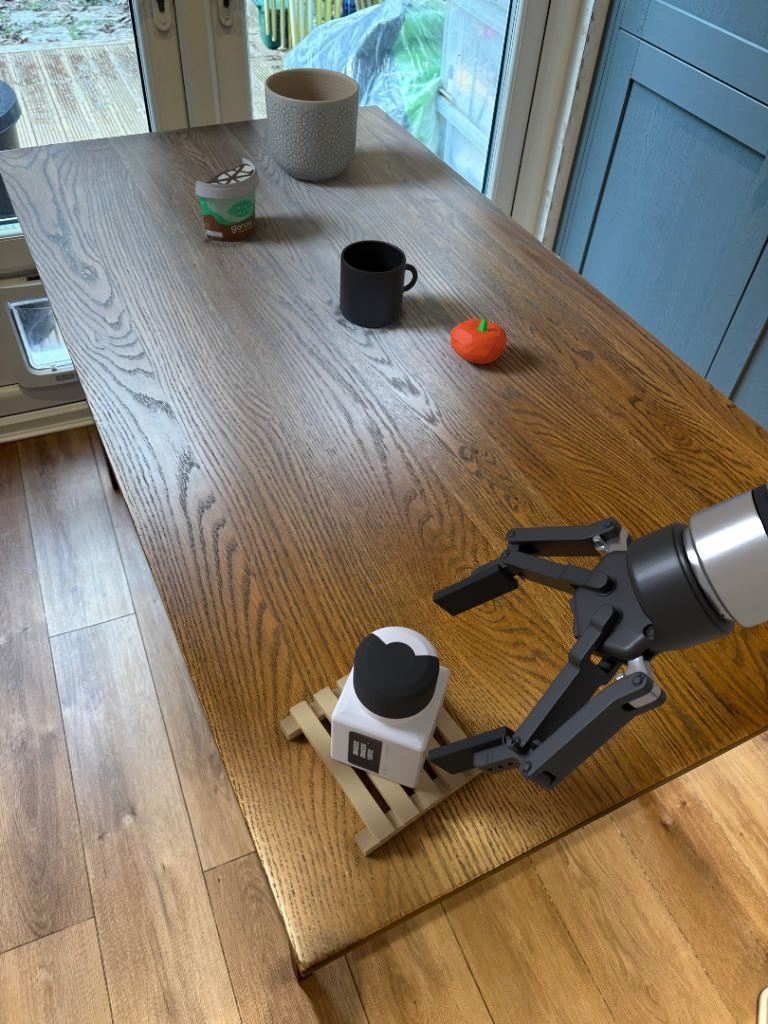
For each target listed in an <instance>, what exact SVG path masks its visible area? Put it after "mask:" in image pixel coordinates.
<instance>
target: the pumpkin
mask: <svg viewBox="0 0 768 1024" xmlns="http://www.w3.org/2000/svg"><path fill="white" fill-rule="evenodd" d="M449 338H450V340H449V341H450V345H451V349H453V351H454V352H455V353H456V354H457V355H458V356H459V357H460V358H461V359H463V360H465V361H466V362H470V363H473V364H477V365H478V364H479V365H484V364H485V365H487V364H490V363H493V362H495V361H496V360H497V359H499V357H501V355H502V354H503V352H504V351H505V349H506V346H507V343H508V336H507V333H506V331H505V329H503V327H502V326H501V325H499V324H498V323H495V322H493V321H490V320H489V319H486V318H481V319H480V318H471V319H468V320H465V321H463V322H460V323H459V324H458V325H457V326H455V327H453V328H452V330H451V333H450V335H449Z"/></svg>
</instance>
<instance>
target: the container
mask: <svg viewBox="0 0 768 1024" xmlns="http://www.w3.org/2000/svg"><path fill="white" fill-rule="evenodd" d="M349 673H350V675H349V677H348V679H347V682H346V684H345V686H344V689H343V691H342V693H341V695H340V698H339V700H338V702H337V705H336V707H335V709H334V711H333V714H332V724H331V723H330V725H331V727H330V728H331V731H330V732H331V733H330V737H331V757H332V758H333V759H334V760H337V761H340V762H343V763H345V764H348V765H350V766H351V767H352V768H353V767H354V768H355V769H359V770H362V771H364V772H365V771H367V772H370V773H372V774H375V775H378V776H380V777H383V778H386V779H388V780H391V781H394V782H397V783H399V784H400V785H403V786H404V787H408V788H411V789H413V788H414V787H416V786H417V783H418V780H419V777H420V774H421V771H422V768H423V769H424V765H425V762H426V756H427V753H428V750H429V747H430V744H431V741H432V738H433V737H434V734H435V731H436V726H437V722H438V719H439V716H440V713H441V709H442V707H443V705H444V700H445V697H446V694H447V693H446V692H447V688H448V685H449V681H450V676H451V670H450V668H448V667H445V666H443V665H441V663H440V658H439V654H438V651H437V650H436V648H435V646H434V645H433V643H432V642H431V641H430V640H429V639H428V638H427V637H426V636H425V635H423V634H421V633H420V632H418V631H416V630H414V629H412V628H409V627H405V626H386V627H382V628H379V629H376V630H374V631H372V632H371V633H368V635H366V636H365V637H364V638H363V639H362V640H361V641H360V643H359V644H358V646H357V648H356V650H355V653H354V657H353V666H352V668H351V671H350V672H349Z"/></svg>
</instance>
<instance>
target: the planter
mask: <svg viewBox="0 0 768 1024" xmlns="http://www.w3.org/2000/svg"><path fill="white" fill-rule="evenodd" d="M264 99H265V101H264V102H265V108H266V109H265V111H266V121H267V132H268V133H267V135H268V143H269V148H270V154H271V156H272V158H273V160H274V162H275V164H276V165H277V166H278V167H279V168H280V170H282V171H283V172H284V173H285V174H287V175H288V176H290V177H292V178H295V179H297V180H301V181H306V182H322V181H328V180H332V179H334V178H337V177H338V176H340V175H342V173H344V172H345V171H347V169H348V168H349V167H350V165H351V163H352V161H353V159H354V156H355V152H356V144H357V132H358V118H359V102H360V101H359V100H360V85H359V83H358V82H357V80H355V79H354V78H353V77H351V76H350V75H347V74H346V73H342V72H339V71H335V70H330V69H327V68H326V69H324V68H317V67H315V68H314V67H298V68H290V69H284V70H280V71H277V72H274V73H272V74H270V75H268V77H267V78H266V79H265V80H264Z"/></svg>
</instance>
